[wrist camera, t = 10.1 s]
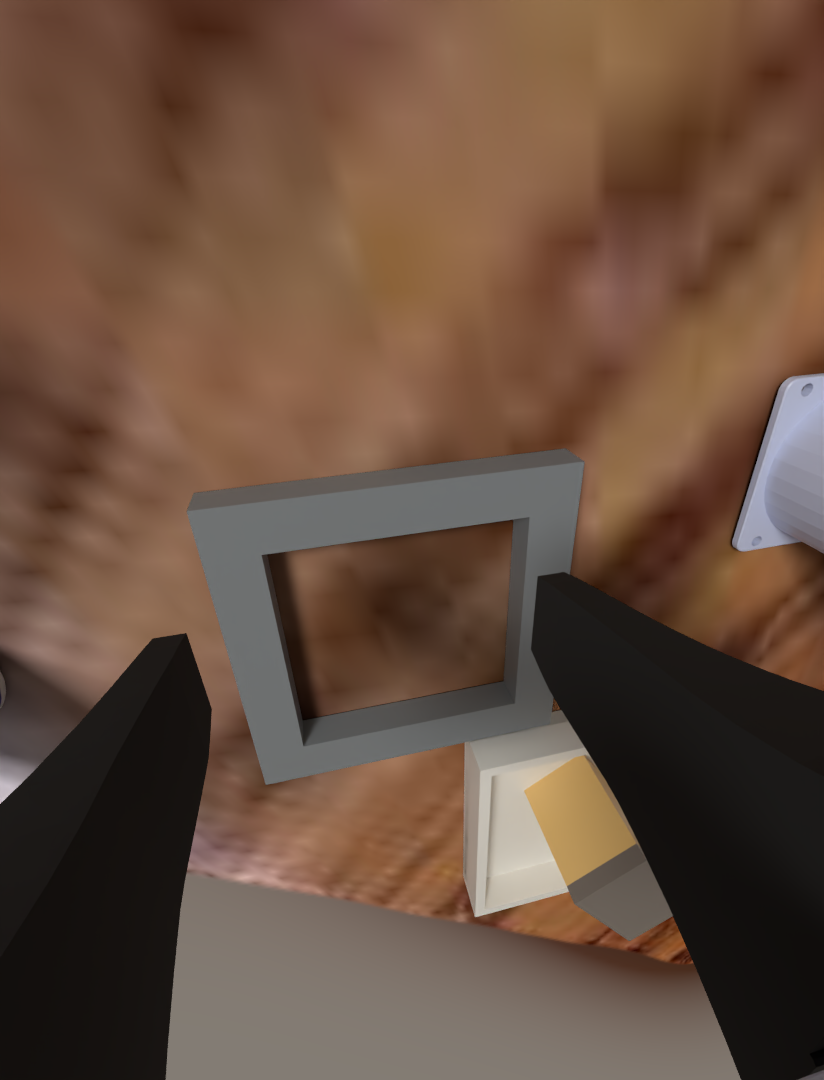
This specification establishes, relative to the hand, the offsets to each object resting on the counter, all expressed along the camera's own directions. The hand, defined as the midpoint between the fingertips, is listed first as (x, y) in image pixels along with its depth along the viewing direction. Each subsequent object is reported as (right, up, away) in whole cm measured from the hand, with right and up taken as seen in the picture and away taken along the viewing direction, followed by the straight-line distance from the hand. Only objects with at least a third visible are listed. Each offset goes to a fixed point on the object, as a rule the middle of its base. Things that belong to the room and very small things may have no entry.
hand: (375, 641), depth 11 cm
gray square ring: (0, -1, +12) cm, 12 cm away
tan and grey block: (+11, -13, +20) cm, 26 cm away
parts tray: (+11, -13, +21) cm, 27 cm away
